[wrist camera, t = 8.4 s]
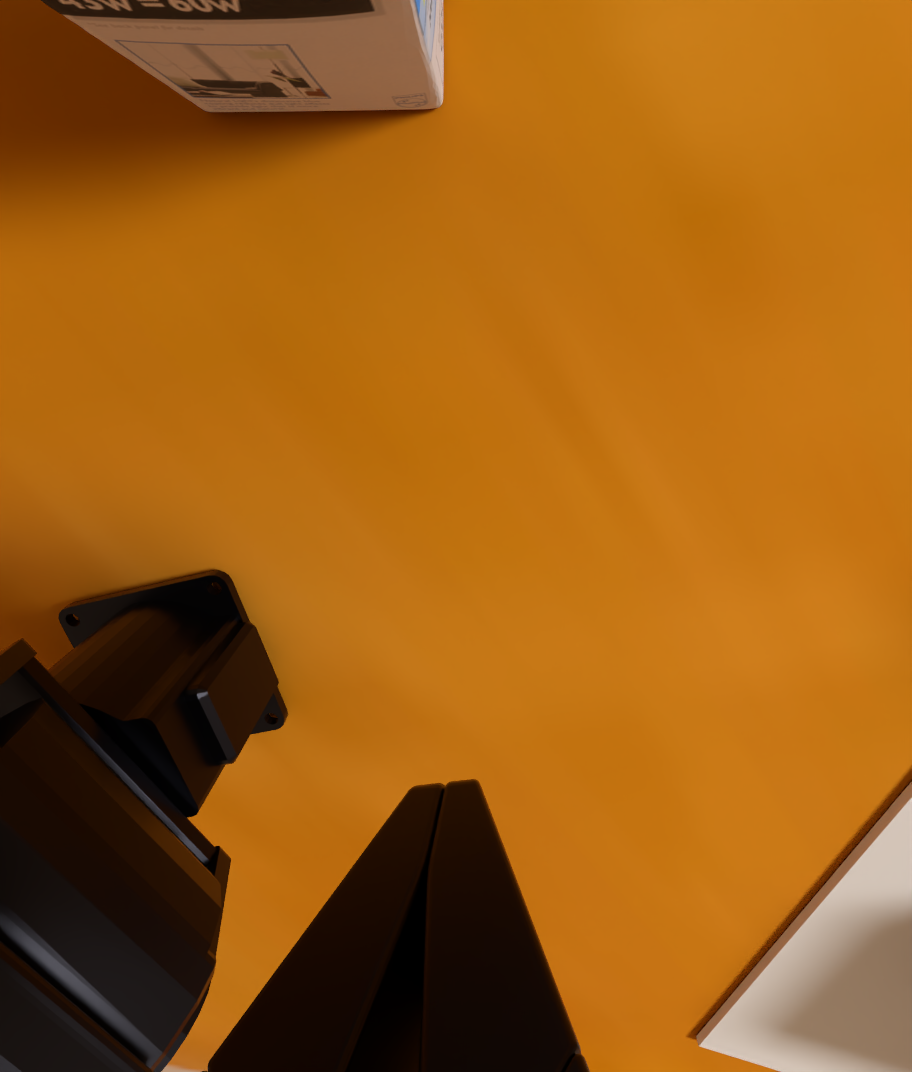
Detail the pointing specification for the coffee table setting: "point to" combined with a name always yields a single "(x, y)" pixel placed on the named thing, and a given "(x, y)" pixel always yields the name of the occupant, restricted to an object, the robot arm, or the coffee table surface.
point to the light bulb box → (278, 50)
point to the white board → (835, 970)
